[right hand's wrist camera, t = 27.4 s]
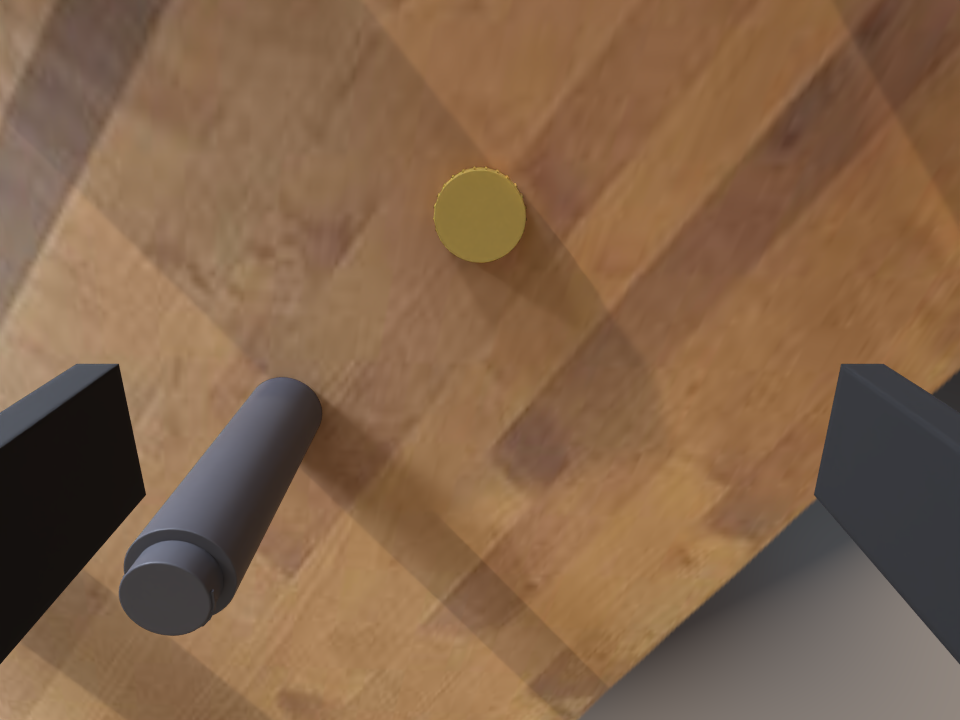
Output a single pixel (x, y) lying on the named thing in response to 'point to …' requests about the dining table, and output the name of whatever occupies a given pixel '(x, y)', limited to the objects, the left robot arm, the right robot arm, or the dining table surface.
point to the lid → (480, 215)
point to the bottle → (219, 512)
